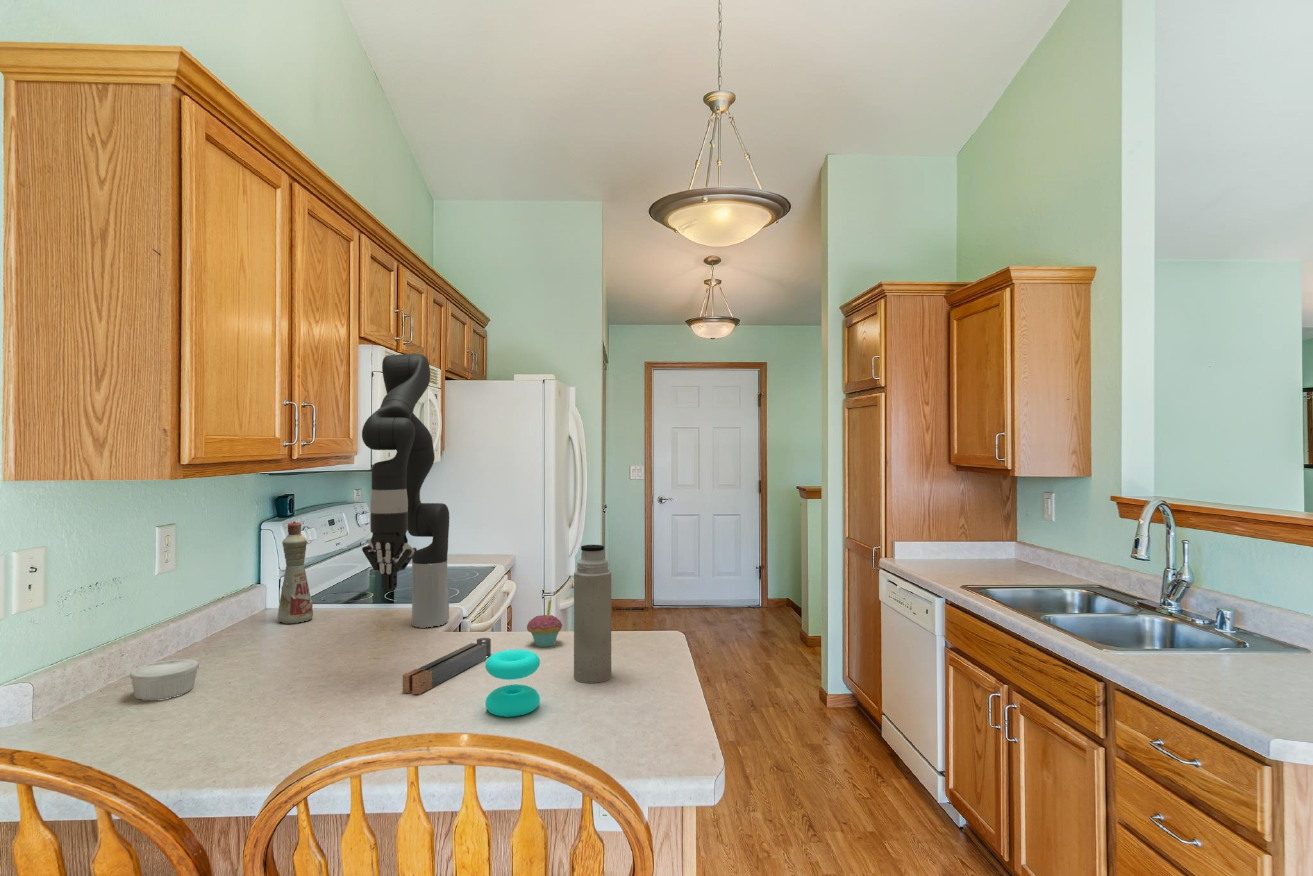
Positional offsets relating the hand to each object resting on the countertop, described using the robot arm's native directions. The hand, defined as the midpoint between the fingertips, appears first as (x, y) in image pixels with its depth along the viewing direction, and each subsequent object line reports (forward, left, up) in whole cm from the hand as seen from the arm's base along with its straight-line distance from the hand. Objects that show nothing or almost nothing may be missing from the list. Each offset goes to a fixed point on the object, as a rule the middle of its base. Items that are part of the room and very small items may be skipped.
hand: (389, 590), depth 148 cm
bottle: (-29, -56, -18) cm, 66 cm away
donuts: (+8, +35, -18) cm, 40 cm away
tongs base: (-6, +12, -18) cm, 23 cm away
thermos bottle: (-13, +42, -18) cm, 48 cm away
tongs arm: (-4, +11, -18) cm, 21 cm away
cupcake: (-31, +21, -18) cm, 42 cm away
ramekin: (+23, -35, -19) cm, 46 cm away
